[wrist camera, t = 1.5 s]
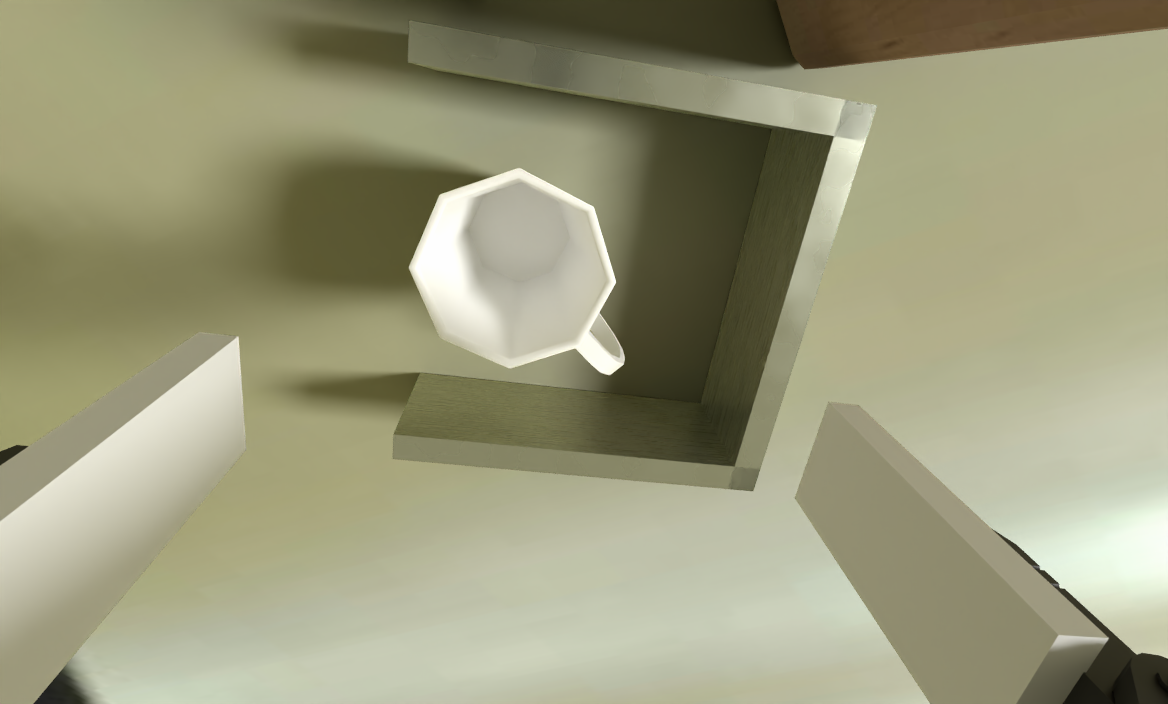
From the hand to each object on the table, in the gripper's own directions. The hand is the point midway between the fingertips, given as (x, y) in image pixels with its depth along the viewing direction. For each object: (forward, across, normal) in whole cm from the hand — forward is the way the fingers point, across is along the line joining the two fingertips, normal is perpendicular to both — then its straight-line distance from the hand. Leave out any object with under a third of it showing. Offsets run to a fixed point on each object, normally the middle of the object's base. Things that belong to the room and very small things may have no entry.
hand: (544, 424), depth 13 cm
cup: (+16, 0, 0) cm, 16 cm away
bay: (+16, +3, 0) cm, 16 cm away
